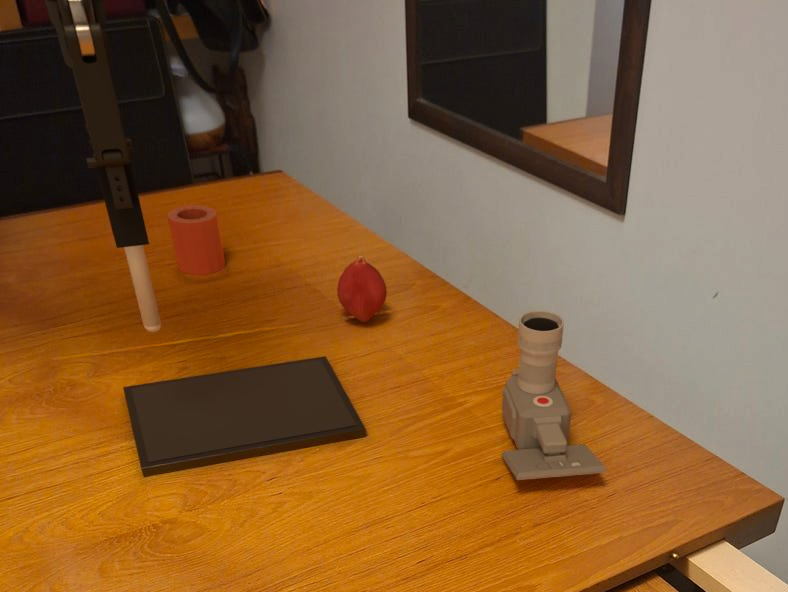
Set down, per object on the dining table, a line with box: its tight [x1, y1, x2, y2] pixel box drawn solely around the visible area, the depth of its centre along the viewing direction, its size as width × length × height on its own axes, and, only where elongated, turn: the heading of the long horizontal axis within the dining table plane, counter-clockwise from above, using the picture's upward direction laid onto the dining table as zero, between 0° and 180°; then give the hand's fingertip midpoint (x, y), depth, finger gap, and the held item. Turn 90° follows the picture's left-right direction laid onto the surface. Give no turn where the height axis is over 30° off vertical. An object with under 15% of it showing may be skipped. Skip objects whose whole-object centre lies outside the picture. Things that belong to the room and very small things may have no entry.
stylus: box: [123, 245, 162, 333], centre depth 79 cm, size 2×2×16 cm
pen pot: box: [167, 204, 226, 276], centre depth 116 cm, size 6×6×7 cm
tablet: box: [122, 355, 367, 478], centre depth 93 cm, size 16×22×1 cm
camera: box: [501, 310, 608, 481], centre depth 87 cm, size 9×12×15 cm
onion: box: [336, 255, 388, 323], centre depth 107 cm, size 6×6×8 cm
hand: (131, 239), depth 78 cm, fingers closed on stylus, 2 cm apart
